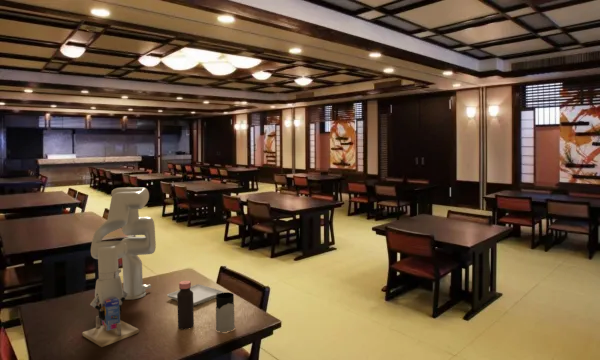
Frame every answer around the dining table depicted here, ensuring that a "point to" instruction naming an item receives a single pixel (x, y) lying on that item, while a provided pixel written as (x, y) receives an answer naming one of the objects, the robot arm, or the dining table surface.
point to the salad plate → (199, 293)
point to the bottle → (185, 306)
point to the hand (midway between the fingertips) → (110, 316)
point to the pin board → (109, 333)
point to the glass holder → (224, 312)
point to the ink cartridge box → (111, 314)
